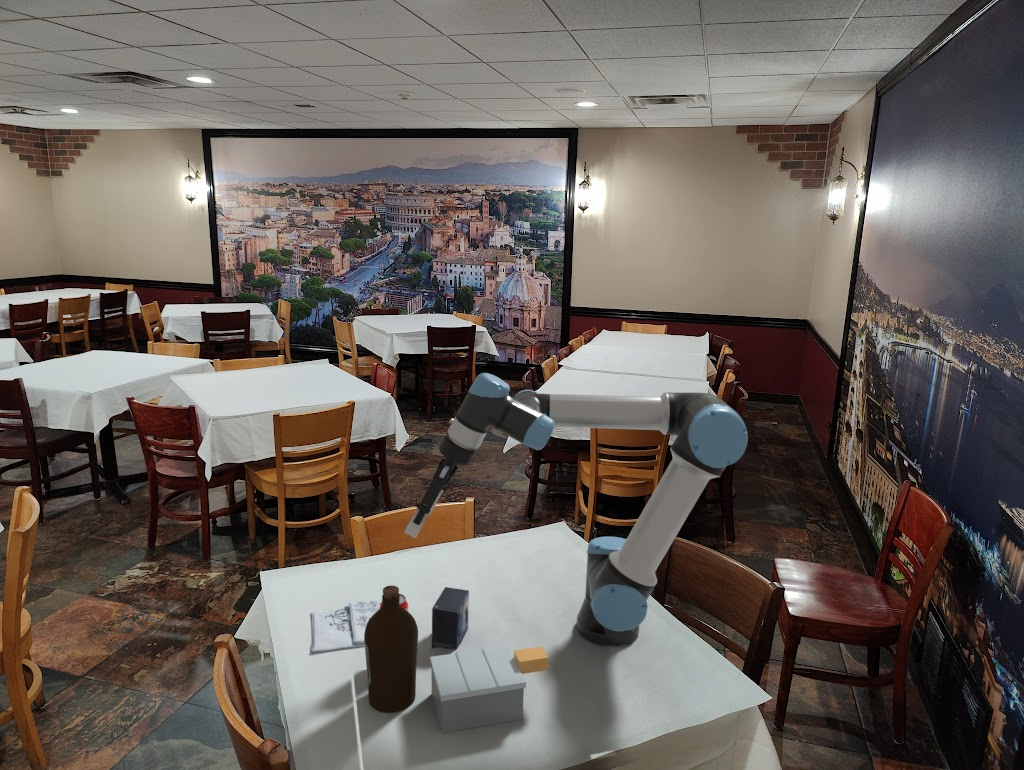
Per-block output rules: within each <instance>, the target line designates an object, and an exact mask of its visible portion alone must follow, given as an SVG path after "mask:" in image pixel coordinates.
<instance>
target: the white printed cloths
mask: <svg viewBox="0 0 1024 770" xmlns="http://www.w3.org/2000/svg"><path fill="white" fill-rule="evenodd" d="M381 602H382V598H380V599H376V600H375V599H374V600H365V601H364V600H363V601H353V602H352V601H351V602H348V605H346V606H344V607H343V608H337V609H329V610H328V609H327V610H324V611H323V610H321V611H320V610H319V611H318V610H317V611H312V612H311V613H310V618H311V628H312V629H311V630H312V631H311V633H312V643H311V648H310V651H309V652H310V653H311V652H312V655H314V654H320V653H327V652H334V651H340V650H348V649H356V648H363V647H364V648H365V642H364V633H365V629H366V625H367V623H368V621H369V619H370V618H371V617H372V616H373V615H374V614H375V613H376V612H377V611H378V610H379V609H380V604H381ZM347 623H350V625H351V630H348V629H346V628H345V626H346V625H347Z"/></svg>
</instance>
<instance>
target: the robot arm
mask: <svg viewBox="0 0 1024 770" xmlns="http://www.w3.org/2000/svg"><path fill="white" fill-rule="evenodd" d="M510 389H511V387H510V385H509V384H508V383H507V382H505V380H502V379H501V378H500V377H498V376H496V375H494V374H491V373H488V372H482V373H480V374H478V375H477V376H476V378H475V379H474V381H473V382H472V384H471V386H470V387H469V390H468V392H467V394H466V395H465V397H464V399H463V401H462V403H461V405H460V407H459V409H458V411H457V413H456V414H455V416H454V418H450V419H449V423H451V424H450V425H449V428H448V430H447V433H446V434H445V435H444V437H443V438H442V441H441V442H440V445H439V446H438V450H439V453H440V454H441V455H442V456H444V457H442V458H441V460H440V461H439V463H438V464H437V468H436V471H435V472H434V474H433V476H432V479H431V480H432V481H431V483H430V485H429V487H428V488H427V490H426V491H425V493H424V495H423V497H422V499H421V500H420V501H419V503H417V502H415V505H414V507H415V508H416V509H415V512H414V513H413V515H412V517H411V519H410V521H409V523H408V524H407V526H406V528H405V530H404V533H405V534H406V535H409V536H410V537H412V538H413V539H417V537H418V534H419V533H420V531H421V529H422V528H423V526H424V525H425V522H426V520H427V518H428V516H431V515H432V512H433V510H434V508H435V507H436V505H437V503H438V501H439V500H440V498H441V496H442V494H443V492H444V491H447V490H448V488H449V485H448V484H449V482H450V481H451V480H452V479H451V478H453V477H454V476H455V474H456V473H457V471H458V469H459V466H458V465H460V466H468V465H470V464H471V463H472V460H473V459H474V456H475V455H476V453H477V449H479V448H480V446H481V445H482V443H483V440H484V439H485V437H486V435H487V434H488V431H489V429H490V427H491V428H493V429H495V430H497V431H499V432H501V433H502V434H504V435H506V436H508V437H509V438H512V440H513V439H514V440H515V441H517V442H519V443H521V444H522V445H524V446H526V447H529V448H531V449H534V450H535V451H540V450H542V449H543V448H544V447H545V446H546V445H547V443H548V442H549V439H550V438H551V436H552V434H553V431H554V430H555V429H554V428H556V427H557V428H581V429H583V428H584V429H610V430H611V429H614V430H615V429H618V430H646V431H647V430H648V431H649V430H650V431H660V433H662V435H668V436H676V438H675V439H674V441H673V443H672V444H671V446H670V452H671V455H672V460H671V461H670V462H669V465H668V466H667V467H666V469H665V471H664V473H663V475H662V477H661V478H660V480H659V482H658V484H657V486H656V487H655V489H654V491H653V492H652V494H651V496H650V497H649V499H648V501H647V503H646V505H645V507H644V508H643V510H642V512H641V514H640V515H639V517H638V519H637V521H636V523H635V524H634V525H633V527H632V529H631V531H630V533H629V535H628V536H627V538H623V537H619V536H618V537H617V536H600V537H595V538H593V539H591V540H590V541H589V543H588V545H587V550H586V553H587V556H586V557H587V558H586V559H587V560H586V576H585V577H586V579H585V597H584V599H583V602H582V604H581V607H580V608H579V612H578V614H577V615H576V616H577V617H576V629H577V632H578V634H580V635H581V637H583V638H584V639H585V640H587V641H589V642H591V643H594V644H596V645H601V646H606V647H620V646H621V647H622V646H625V645H627V644H631V643H632V642H634V641H635V640H636V639H637V638H638V636H639V635H638V634H640V625H641V624H642V623H643V622H644V621H645V619H646V617H647V613H648V607H649V606H648V601H647V600H648V599H649V597H650V596H651V594H652V592H653V591H654V590H655V589H654V588H655V587H656V585H657V583H658V578H657V576H656V571H657V569H658V567H659V565H661V562H662V560H664V559H663V558H664V557H665V556H666V554H667V552H668V550H670V549H669V548H670V547H671V545H672V544H673V542H674V540H675V539H676V537H677V535H678V534H679V532H680V530H681V528H682V527H683V525H684V523H685V521H686V520H687V518H688V516H689V515H690V513H691V511H692V510H693V508H694V506H695V505H696V503H697V501H698V500H699V498H700V496H701V494H702V493H703V491H704V489H705V488H706V486H707V484H708V483H709V481H710V480H712V479H716V478H720V477H721V476H722V474H723V472H724V471H725V470H726V467H727V466H730V465H734V464H735V463H736V462H738V461H739V460H740V459H741V458H742V456H743V455H744V453H745V451H746V449H747V447H748V440H749V438H748V437H749V435H748V431H747V426H746V424H745V422H744V420H743V419H742V417H741V415H740V414H739V413H738V412H737V411H736V410H734V409H733V408H732V407H731V406H730V405H728V403H726V402H725V401H724V400H723V399H722V398H720V397H719V396H717V395H715V394H712V393H707V392H670V391H669V392H667V391H666V392H663V393H662V394H661V395H660V396H650V395H649V396H646V395H645V396H643V395H642V396H641V395H640V396H638V395H609V394H606V395H602V394H601V395H600V394H566V393H565V394H564V393H538V392H536V391H534V390H533V389H524V390H519V392H517V393H516V394H515V395H514V397H512V396H510V395H509V394H510V393H509V392H510V391H511V390H510Z"/></svg>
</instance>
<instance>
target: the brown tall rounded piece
mask: <svg viewBox="0 0 1024 770" xmlns="http://www.w3.org/2000/svg"><path fill="white" fill-rule="evenodd" d="M399 594H400V589H399V587H398V586H397V585H387V586H385V587H383V588H382V595H381V599H382V603H383V606H382V607H381V608H380V609H379V610H378V611H377V612H376V613H375V614H374V615H373V616H372V617H371V618H370V619H369V621H368V623H367V625H366V629H365V633H364V642H365V647H364V654H365V664H366V666H365V667H366V677H367V678H366V679H367V680H366V681H367V694H368V704H369V706H370V707H371V708H372V709H373V710H375V711H377V712H379V713H385V714H394V713H400V712H402V711H404V710H406V709H408V708H409V707H411V706H412V705H413V704H414V702H415V700H416V690H417V688H416V686H417V685H416V684H417V665H418V664H417V661H418V660H417V659H418V644H419V643H418V641H419V629H418V624H417V622H416V620H415V617H414V616H413V615H412V614H411V613H410V612H409V610H408V611H406V610H405V609H404V608H403V607H401V606H400V605H399V601H400V595H399Z"/></svg>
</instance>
